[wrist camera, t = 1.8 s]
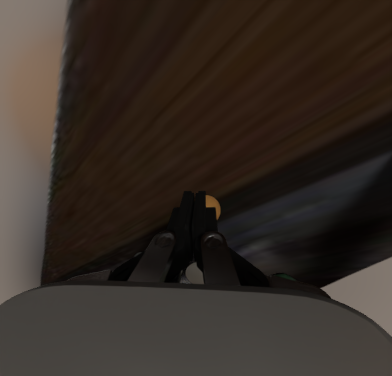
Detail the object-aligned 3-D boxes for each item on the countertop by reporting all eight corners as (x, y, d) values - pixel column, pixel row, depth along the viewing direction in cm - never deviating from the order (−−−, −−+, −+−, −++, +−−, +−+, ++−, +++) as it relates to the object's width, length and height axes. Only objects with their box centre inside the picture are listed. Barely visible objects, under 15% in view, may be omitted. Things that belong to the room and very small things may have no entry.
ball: (219, 189, 27) (221, 206, 23) (219, 212, 30) (221, 232, 25) (191, 189, 28) (187, 206, 23) (193, 212, 31) (190, 231, 26)
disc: (233, 261, 37) (233, 261, 37) (230, 288, 43) (230, 289, 43) (183, 259, 38) (183, 260, 38) (187, 286, 45) (187, 287, 44)
